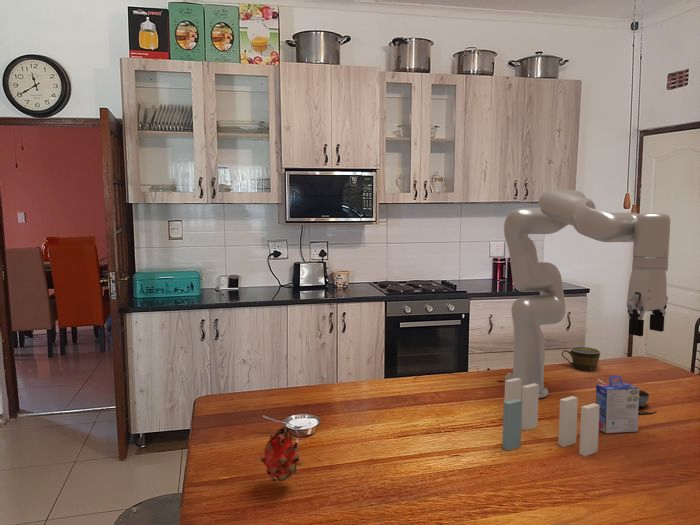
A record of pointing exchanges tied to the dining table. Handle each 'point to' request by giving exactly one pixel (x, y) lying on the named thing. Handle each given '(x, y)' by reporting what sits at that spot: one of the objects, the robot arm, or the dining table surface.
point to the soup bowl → (641, 399)
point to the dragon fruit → (281, 456)
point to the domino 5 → (589, 429)
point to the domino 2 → (512, 424)
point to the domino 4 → (568, 421)
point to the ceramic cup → (584, 358)
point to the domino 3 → (530, 406)
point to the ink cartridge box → (617, 406)
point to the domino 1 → (512, 389)
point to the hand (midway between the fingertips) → (646, 332)
